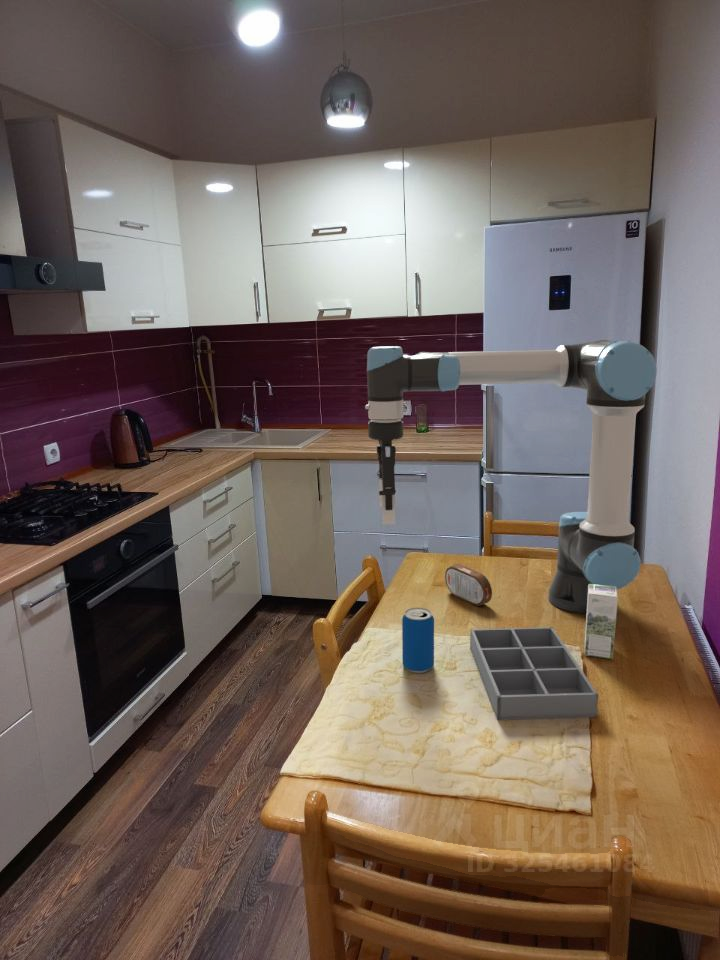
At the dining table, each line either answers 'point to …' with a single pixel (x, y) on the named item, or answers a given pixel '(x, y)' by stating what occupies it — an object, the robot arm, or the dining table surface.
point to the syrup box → (600, 621)
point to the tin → (468, 584)
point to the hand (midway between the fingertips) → (387, 515)
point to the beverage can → (418, 639)
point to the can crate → (531, 674)
